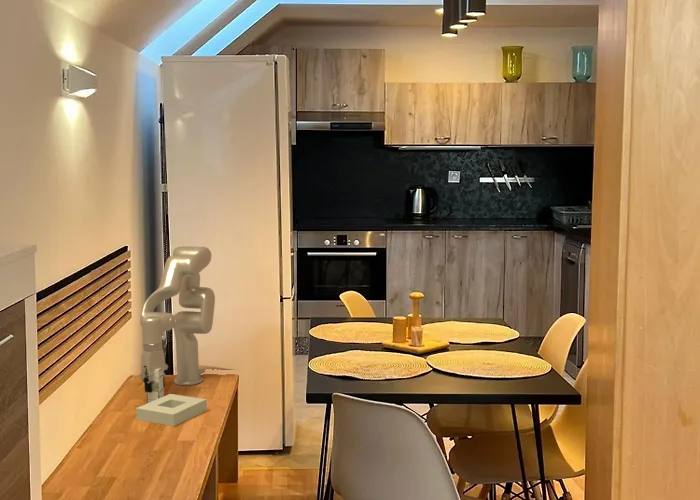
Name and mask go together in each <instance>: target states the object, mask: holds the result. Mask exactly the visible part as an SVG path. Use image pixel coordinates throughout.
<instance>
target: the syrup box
mask: <svg viewBox="0 0 700 500" xmlns="http://www.w3.org/2000/svg"><path fill="white" fill-rule="evenodd" d="M146 375H149V374H148V373H147V372H146ZM148 378H149V377H147V379H148ZM150 383H152V392H151V393H149V392H145V393H146V395H145V396H146V404H147V403H150V402H152V401H154V400H157V399H159V398H161V397H164V396H165V390H164V389H165V387H163V372H162V369H161V367H159V368H157V369H156V370H154V375H153V376H152V378H151V381H150Z"/></svg>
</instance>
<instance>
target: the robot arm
mask: <svg viewBox="0 0 700 500" xmlns="http://www.w3.org/2000/svg"><path fill="white" fill-rule="evenodd" d="M211 261H212V251H211V250H210V249H209V248H208V247H205V246H189V245H188V246H187V245H186V246H184V245H183V246H177V247H175V248H174V249H173V250H172V255H171V256H168V258H166V261H165V263H164V264H165V265H164V268H163V272H162V276H161V279H160V283H159V286H158V288H157V289H156V290H155V291H154V292H152V293H151V294H150V295H149V296H148V297H147V298H146V300H145V302H144V304H143V306H142V310H141V314H140V319H139V320H140V321H139V322H140V326H141V331H142V333H141V334H142V349H143V351H142V352H141V357H140V374H139V376H138V377H139V378H140V379H141V381H142V382H143V383H144V392H145V393H146V392H149V393H151V392H152V383H150V381H151V378H152V376H153V375H154V370H156V369H157V368H159V367H161V369H162V372H163V387H164V388H165V382H166V381H165V377H166V373H167V370H168V368H169V365H168V364H167V363H166V358H165V351H164V349H163V336H162V334H163V332H168V331H171V330H173V332H174V338H175V356H176V357H175V358H176V377H175V378H174V379H173V383H174V384H175V385H177V386H194V385H197V384H200V383H202V382H203V381H204V378H203V377H202V376H201V375H202V374H203V373H205V372H206V369H205V368H201V369H200V367H199V365H200V363H199V362H200V361H199V344H198V339H197V336H196V335H195V334H197V335H198V334H200V335H206V334H207V335H208V334H209V333H210V332H211V331H212V328H213V325H214V324H213V323H214V315H215V307H216V306H215V305H216V296H215V292H214V290H213V289H212V288H210V287H205V286H201V285H200V284H201V274H200V272H202V271H203V270H204V269H206V268H207V267H208V266H209V264H210V263H211ZM176 295H178V304H179V306H180V307H181V308H184V309H199V310H200V311H194V310H193V311H192V310H191V311H190V310H188V311H187V310H185V311H184V310H183V311H177V312H176V313H175V314H173V313H171V312H159V311H155V309H156V307H157V306H158V305H159V304H161V303H162V302H164V301H167V300H168V299H171V298H173V297H175V296H176ZM146 372H147V373H148V374H149V375H146ZM147 377H149V378H148V379H147Z"/></svg>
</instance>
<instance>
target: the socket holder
mask: <svg viewBox="0 0 700 500" xmlns="http://www.w3.org/2000/svg"><path fill="white" fill-rule="evenodd" d="M207 405H208V404H207V399H206V398H201V397H193V396H188V395H182V394H181V395H180V394H173V393H169V394H167V395H164V397H161V398H159V399H157V400H154V401H152V402H150V403H147V402H146V403H145V404H143V405H140V406H139V407H135V412H136V420H137V421H143V422H148V423H154V424H157V425H158V424H160V425H165V426H171V427H176V426H178V425H179V424H182V423H184V422H186V421H188V420H190V419H192V418H194V417H196V416H198V415H201V414H202V413H204V412H206V411H208V407H207Z"/></svg>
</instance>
